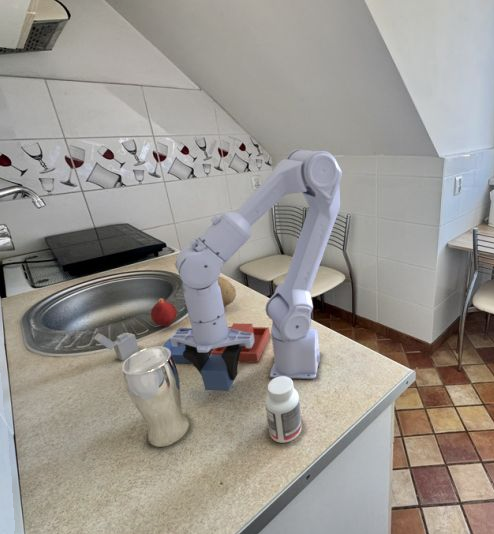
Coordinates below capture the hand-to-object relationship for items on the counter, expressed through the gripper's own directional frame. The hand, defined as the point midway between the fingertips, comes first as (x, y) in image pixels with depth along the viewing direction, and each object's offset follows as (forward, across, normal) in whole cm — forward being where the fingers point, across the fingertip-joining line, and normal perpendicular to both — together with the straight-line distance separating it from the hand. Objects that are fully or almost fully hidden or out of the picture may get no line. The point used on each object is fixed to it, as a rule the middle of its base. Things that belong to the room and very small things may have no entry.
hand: (220, 375), depth 61 cm
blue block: (+1, 0, 0) cm, 1 cm away
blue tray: (+4, -13, +13) cm, 19 cm away
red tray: (+4, -1, +14) cm, 15 cm away
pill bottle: (+4, +14, -8) cm, 17 cm away
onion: (+4, -24, +22) cm, 33 cm away
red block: (+3, -1, +14) cm, 14 cm away
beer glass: (+4, -6, -9) cm, 12 cm away
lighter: (+4, -27, +9) cm, 29 cm away
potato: (+4, -13, +31) cm, 34 cm away
